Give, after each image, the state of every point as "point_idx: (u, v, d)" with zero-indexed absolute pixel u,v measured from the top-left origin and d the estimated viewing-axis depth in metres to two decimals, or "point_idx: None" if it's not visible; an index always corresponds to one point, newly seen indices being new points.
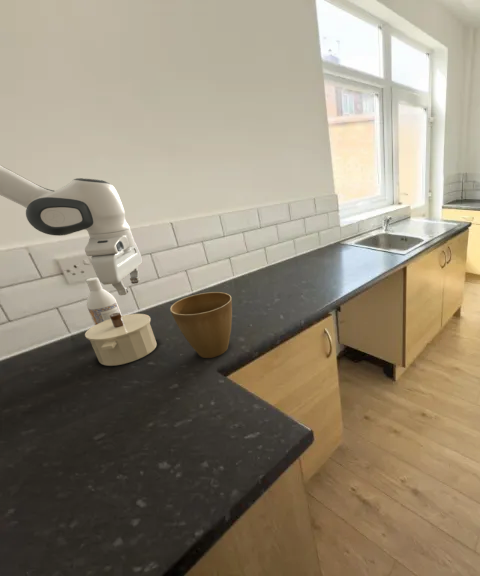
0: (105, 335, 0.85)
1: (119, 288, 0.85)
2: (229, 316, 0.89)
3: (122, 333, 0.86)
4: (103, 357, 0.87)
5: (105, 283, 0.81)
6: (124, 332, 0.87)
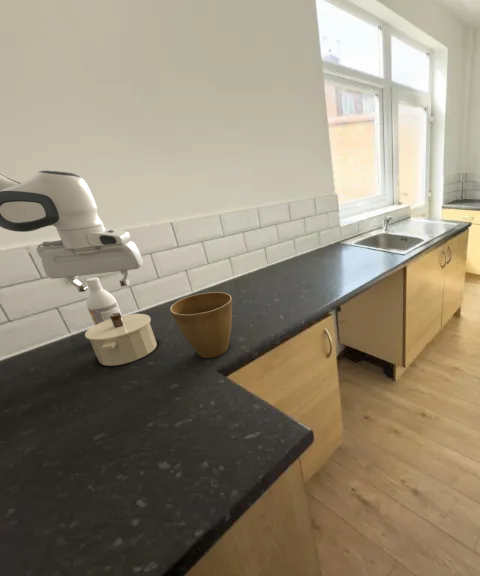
0: (105, 335, 0.85)
1: (127, 278, 0.87)
2: (229, 316, 0.89)
3: (122, 333, 0.86)
4: (103, 357, 0.87)
5: (139, 266, 0.86)
6: (124, 332, 0.87)
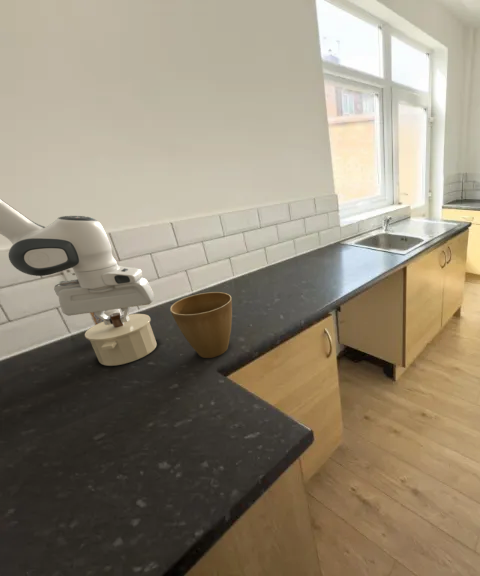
0: (105, 335, 0.85)
1: (127, 314, 0.90)
2: (229, 316, 0.89)
3: (122, 333, 0.86)
4: (103, 357, 0.87)
5: None
6: (124, 332, 0.86)
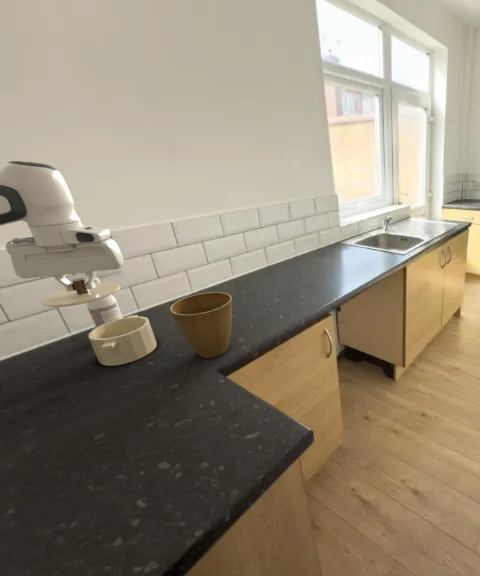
0: (66, 301, 0.75)
1: (92, 280, 0.80)
2: (229, 316, 0.89)
3: (85, 299, 0.76)
4: (103, 357, 0.87)
5: (120, 266, 0.80)
6: (87, 298, 0.77)
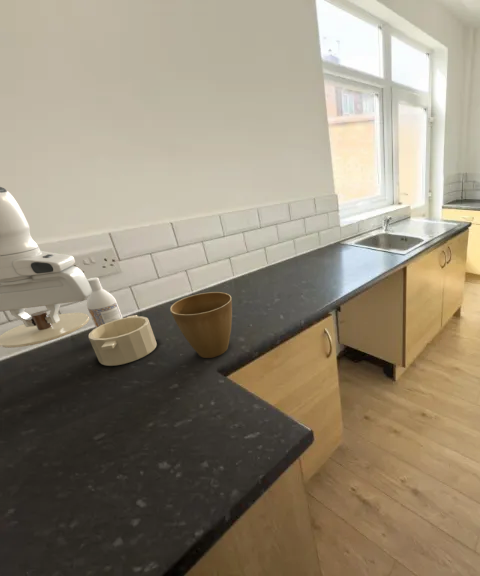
0: (22, 340, 0.66)
1: (56, 313, 0.71)
2: (229, 316, 0.89)
3: (44, 337, 0.67)
4: (103, 357, 0.87)
5: (86, 297, 0.71)
6: (48, 336, 0.67)
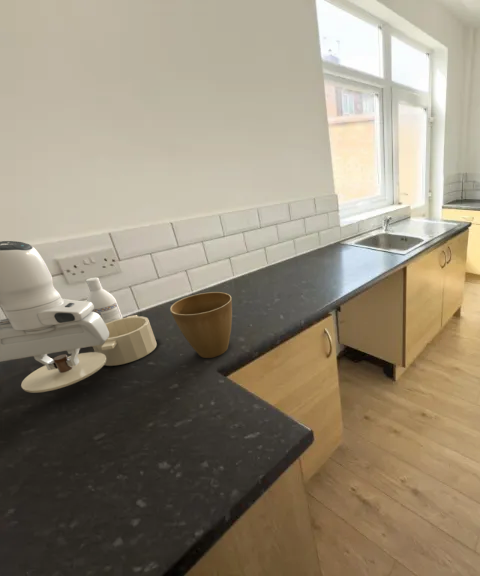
0: (46, 384, 0.70)
1: (76, 356, 0.75)
2: (229, 316, 0.89)
3: (66, 381, 0.71)
4: None
5: (104, 341, 0.75)
6: (69, 380, 0.72)
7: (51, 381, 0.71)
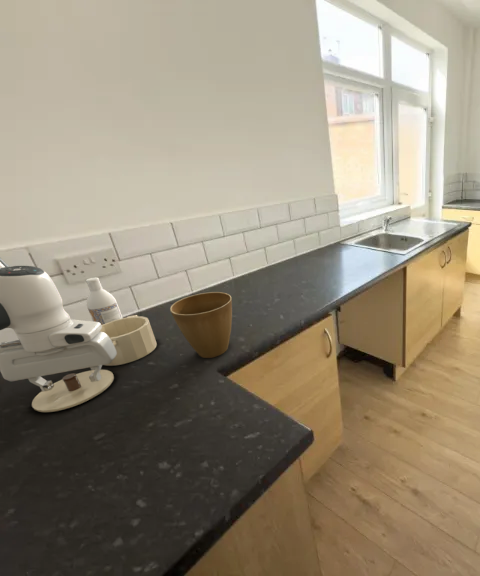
0: (56, 404, 0.72)
1: (98, 372, 0.78)
2: (229, 316, 0.89)
3: (76, 401, 0.73)
4: None
5: (112, 360, 0.77)
6: (78, 399, 0.74)
7: (61, 400, 0.73)
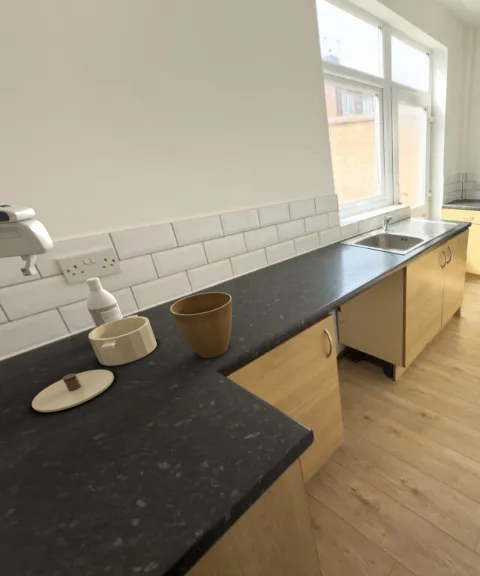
0: (56, 404, 0.72)
1: (32, 265, 0.70)
2: (229, 316, 0.89)
3: (76, 401, 0.73)
4: (103, 357, 0.87)
5: (46, 251, 0.70)
6: (78, 399, 0.74)
7: (61, 400, 0.73)
